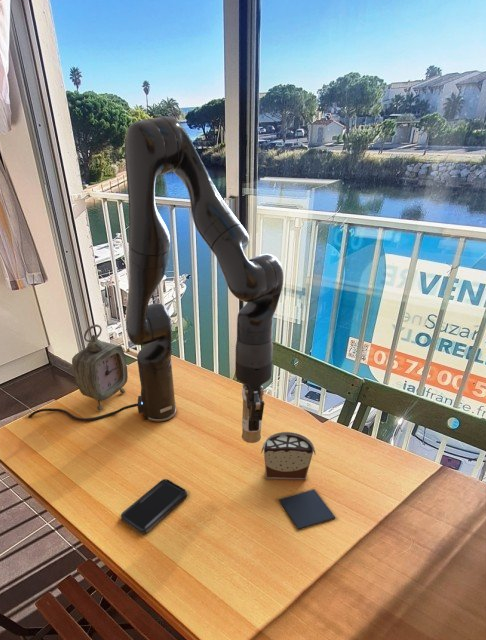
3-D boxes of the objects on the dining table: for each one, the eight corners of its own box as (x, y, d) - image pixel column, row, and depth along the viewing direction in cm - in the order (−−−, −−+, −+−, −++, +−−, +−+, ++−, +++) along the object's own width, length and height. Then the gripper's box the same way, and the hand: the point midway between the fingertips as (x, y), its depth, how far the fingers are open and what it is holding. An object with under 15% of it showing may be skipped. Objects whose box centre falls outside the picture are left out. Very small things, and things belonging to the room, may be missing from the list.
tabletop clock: (100, 415, 135) (84, 339, 120) (78, 407, 139) (60, 333, 124) (131, 391, 144) (119, 319, 129) (109, 384, 148) (96, 313, 134)
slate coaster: (298, 529, 96) (298, 528, 96) (278, 500, 103) (279, 499, 103) (335, 518, 98) (335, 517, 98) (313, 490, 105) (314, 489, 105)
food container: (308, 462, 113) (313, 430, 107) (311, 479, 108) (316, 447, 102) (259, 461, 114) (260, 430, 109) (260, 478, 110) (261, 446, 104)
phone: (188, 491, 105) (143, 532, 96) (189, 495, 106) (144, 535, 97) (164, 477, 110) (118, 515, 101) (164, 480, 110) (119, 518, 101)
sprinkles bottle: (240, 432, 107) (241, 384, 99) (260, 431, 107) (262, 383, 99) (242, 444, 103) (243, 395, 95) (262, 443, 103) (264, 394, 95)
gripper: (231, 342, 98) (231, 406, 108) (240, 376, 87) (239, 444, 97) (265, 340, 98) (262, 404, 108) (279, 373, 87) (274, 442, 97)
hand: (251, 423), depth 102 cm, fingers closed on sprinkles bottle, 4 cm apart
